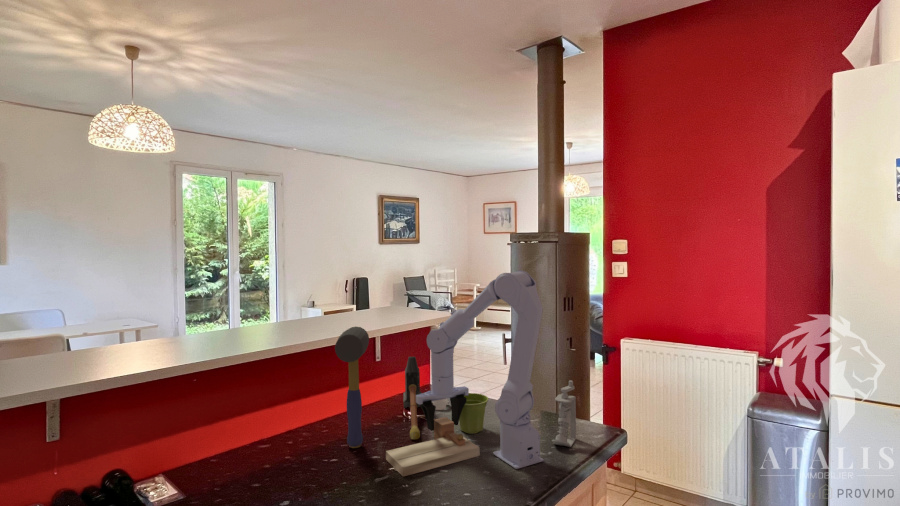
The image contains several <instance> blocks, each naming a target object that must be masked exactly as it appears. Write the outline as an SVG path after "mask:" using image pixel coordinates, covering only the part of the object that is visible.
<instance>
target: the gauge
mask: <svg viewBox="0 0 900 506" xmlns="http://www.w3.org/2000/svg"><path fill="white" fill-rule="evenodd" d="M457 434H458V435H457ZM443 437H447V438H448V439H449V440H451V441H452V442H454V443H455V444H457V445H458V446H462V445H465V439H463V437H464V434H462V433H456V432H455V424H454V422H453V421H452V419H450V418H448V417H447V416H444V417H439V418H436V419H435V418H434V430H433V440H434V439H438V438H443Z"/></svg>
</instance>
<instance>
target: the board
mask: <svg viewBox="0 0 900 506" xmlns="http://www.w3.org/2000/svg"><path fill="white" fill-rule="evenodd" d="M456 434H457V435H458V434H459V433H456ZM463 439H465V445H462V446H458V445H457V444H455V443H454V442H452V441H451V440H449V439H448V438H447V437H443V438H438V439H434V438H433V439H430V440H426V441H422V442H418V443H413V444H409V445H405V446H402V447H397V448H393V449H389V450H386V451H385V460H386V461H387V462H388V463H389V464H390V465H391V466H392V467H393V468H394V469H395V470H396V471H397V472H398V474H400V475H401V477H406V476H407V477H408V476H411V475H414V474H417V473H421V472H426V471H429V470H433V469H436V468H440V467H444V466H447V465H451V464H454V463H458V462H462V461H465V460H469V459H473V458H476V457H480V452H481V451H480V446H479V445H476V444H475V443H473V442H472V441H470V440H469V439H467V438H466V437H465V436H463Z"/></svg>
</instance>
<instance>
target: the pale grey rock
mask: <svg viewBox="0 0 900 506" xmlns="http://www.w3.org/2000/svg"><path fill="white" fill-rule="evenodd" d="M432 403H433V405H434V406H436V408H435V411H444V410H445V409H446V406H447V405H451V402H450V400H448V398H446V399H441V400H436V401H432Z"/></svg>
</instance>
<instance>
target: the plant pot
mask: <svg viewBox="0 0 900 506" xmlns="http://www.w3.org/2000/svg"><path fill="white" fill-rule="evenodd" d="M464 397H466V398H467V401H466V403H465V405H464V407H463V409H462V412H461V415H460V418H459V423H458V424H459V427H460V431H461V432H464V433H465V434H471V435H472V434H473V433H474V434H477V433H479V432H482V431H483V429H484V428H483V427H484V422H485V421H484V420H485V414H486V407H487V403H488V401H489V397H488V396H487V395H485V394H482V393H476V392H475V393H474V392H471V393H470V392H469V395H467V396H465V395H464Z"/></svg>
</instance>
